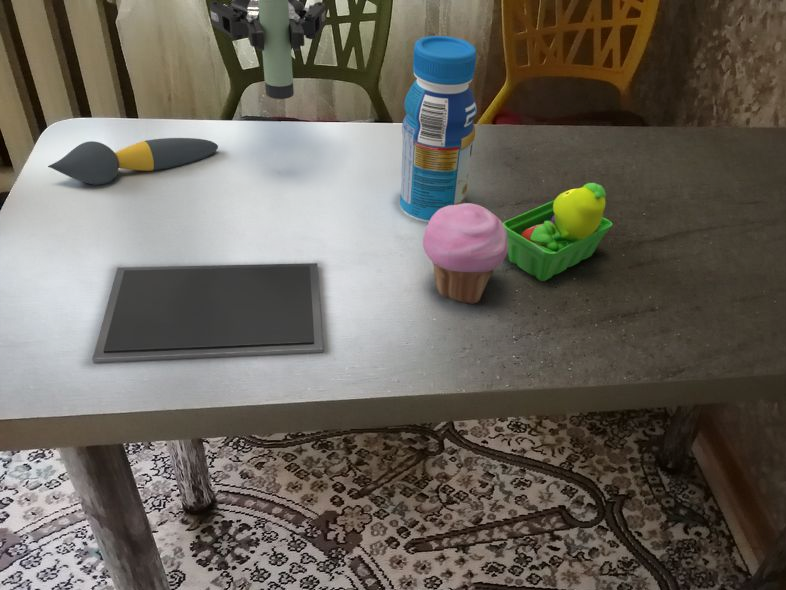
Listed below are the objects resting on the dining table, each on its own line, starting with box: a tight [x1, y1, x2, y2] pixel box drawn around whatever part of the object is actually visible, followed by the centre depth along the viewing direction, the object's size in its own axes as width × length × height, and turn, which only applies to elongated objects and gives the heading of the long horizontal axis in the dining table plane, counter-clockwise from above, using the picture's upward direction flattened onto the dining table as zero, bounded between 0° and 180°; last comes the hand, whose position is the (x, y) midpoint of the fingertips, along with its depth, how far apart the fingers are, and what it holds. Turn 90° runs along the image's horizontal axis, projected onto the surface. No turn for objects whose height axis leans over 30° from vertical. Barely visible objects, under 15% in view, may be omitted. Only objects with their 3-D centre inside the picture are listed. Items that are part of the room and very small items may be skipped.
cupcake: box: [422, 202, 508, 305], centre depth 77 cm, size 9×9×10 cm
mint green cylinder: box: [258, 0, 295, 100], centre depth 84 cm, size 3×3×12 cm
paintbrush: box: [47, 137, 219, 186], centre depth 91 cm, size 20×5×5 cm, turn 134°
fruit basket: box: [502, 182, 613, 282], centre depth 83 cm, size 11×9×11 cm
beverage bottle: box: [399, 35, 478, 223], centre depth 86 cm, size 8×8×20 cm
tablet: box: [91, 262, 324, 364], centre depth 73 cm, size 20×14×1 cm
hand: (278, 41), depth 81 cm, fingers closed on mint green cylinder, 3 cm apart
